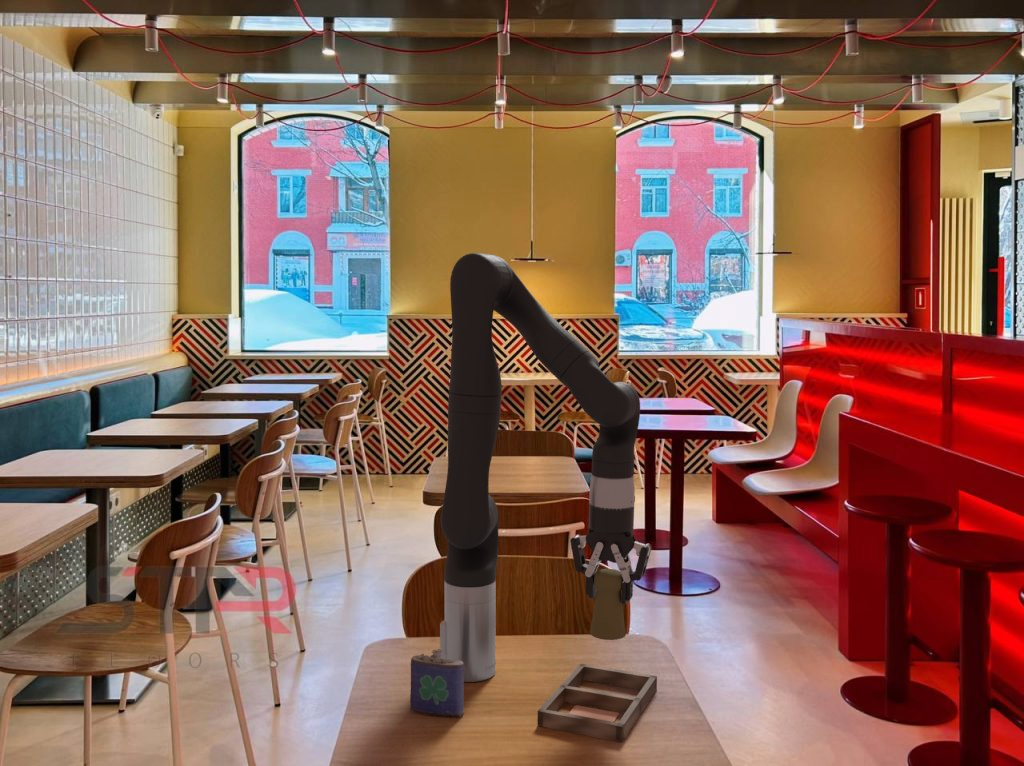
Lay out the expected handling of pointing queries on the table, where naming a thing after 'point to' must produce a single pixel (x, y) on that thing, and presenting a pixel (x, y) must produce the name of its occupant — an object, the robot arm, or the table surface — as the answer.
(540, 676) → the table surface
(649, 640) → the table surface
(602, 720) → the caddy
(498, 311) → the robot arm
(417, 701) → the flask
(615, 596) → the cork
